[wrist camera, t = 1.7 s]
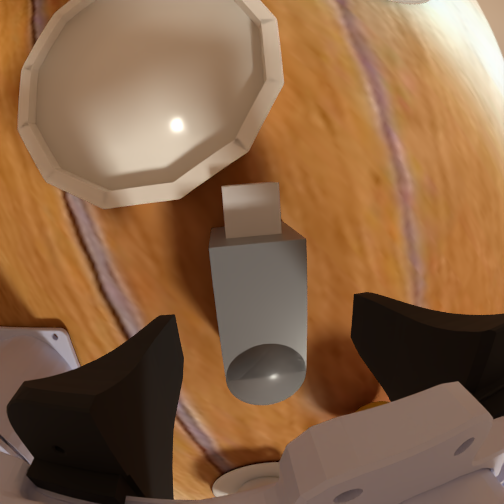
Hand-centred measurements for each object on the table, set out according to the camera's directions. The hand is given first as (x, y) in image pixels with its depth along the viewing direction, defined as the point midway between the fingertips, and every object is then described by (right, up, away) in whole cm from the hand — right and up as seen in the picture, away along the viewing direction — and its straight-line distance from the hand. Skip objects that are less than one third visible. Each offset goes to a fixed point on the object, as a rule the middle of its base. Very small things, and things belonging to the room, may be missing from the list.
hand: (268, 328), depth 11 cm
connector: (-1, +1, +5) cm, 5 cm away
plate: (-6, +12, +2) cm, 14 cm away
